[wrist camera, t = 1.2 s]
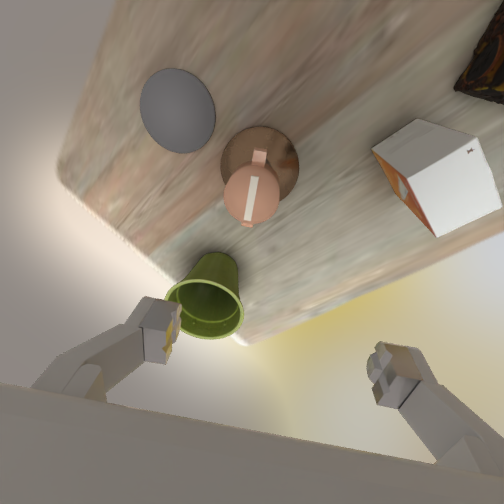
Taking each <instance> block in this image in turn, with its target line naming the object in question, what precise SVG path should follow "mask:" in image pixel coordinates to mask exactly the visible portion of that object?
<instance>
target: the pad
mask: <svg viewBox="0 0 504 504" xmlns="http://www.w3.org/2000/svg"><path fill="white" fill-rule="evenodd" d="M140 112H141V116H142V120H143V123H144V125H145V127H146V129H147V131H148V133H149V134H150V135H151V137H152V138H153V139H154V140H155V141H156V142H157V143H158V144H159V145H161V146H162V147H164V148H165V149H167V150H170V151H172V152H176V153H190V152H193V151H196V150H198V149H199V148H201V147H202V146H203V145H204V144H205V143H206V142H207V141H208V140H209V138H210V137H211V135H212V133H213V130H214V126H215V117H216V115H215V107H214V103H213V100H212V98H211V95H210V93H209V92H208V90H207V88H206V87H205V86H204V84H203V83H202V82H201V81H200V80H199V79H198V78H196V77H195V76H194V75H192V74H191V73H189V72H186V71H184V70H180V69H164V70H161V71H158V72H157V73H155V74H154V75H152V76H151V77H150V78H149V79H148V81H147V82H146V84H145V85H144V87H143V90H142V93H141V98H140Z"/></svg>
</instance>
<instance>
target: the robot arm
mask: <svg viewBox="0 0 504 504" xmlns="http://www.w3.org/2000/svg"><path fill="white" fill-rule="evenodd" d="M181 311H182V305H181V304H180V303H176V302H171V301H167V300H162V299H156V298H151V297H147V296H145V297H143V298H142V299H141V300H140V302H139V303H138V305H137V306H136V308H135V309H134V311H133V312H132V314H131V315H130V316H129V318H128V319H127V321H126V322H125V324H119V325H117V326H115V327H113V328H111V329H109V330H107V331H105V332H104V333H102V334H100V335H98V336H96V337H94V338H92V339H90V340H88V341H86V342H84V343H82V344H80V345H78V346H77V347H74V348H72V349H70V350H68V351H66V352H65V353H63V354H61V355H59V356H57V357H56V358H55V359H54V361H53V362H52V363H51V364H50V365H49V366H48V368H47V369H46V370H45V371H44V372H43V373H42V375H41V376H40V377H39V378H38V379H37V380H36V382H35V383H34V384H33V385H32V386H31V387H30V388H27V387H22V386H17V385H12V384H6V383H1V382H0V504H504V438H503V437H502V436H500V435H499V434H498V433H497V432H496V431H494V429H492V428H491V427H490V426H489V425H488V424H487V423H486V422H484V421H483V420H482V419H481V418H480V417H479V416H478V415H476V414H475V413H474V412H473V411H472V410H471V409H469V408H468V407H467V406H466V405H465V404H464V403H463V402H461V401H460V400H459V399H458V398H457V397H456V396H455V395H453V394H452V393H451V392H450V391H449V390H448V389H447V388H445V387H444V386H443V385H440V384H438V382H437V380H436V378H435V377H434V375H433V373H432V371H431V369H430V367H429V366H428V363H427V362H426V360H425V358H424V356H423V354H422V353H421V351H420V350H419V349H418V348H415V347H409V346H403V345H397V344H392V343H387V342H381V341H380V342H378V343H377V344H376V346H375V350H376V352H375V353H373V354H371V355H370V357H369V359H368V361H367V374H368V377H369V379H370V380H371V381H372V382H373V383H374V385H373V387H372V391H373V394H374V397H375V400H376V403H377V405H380V406H385V407H390V408H394V409H399V410H398V411H399V412H400V414H401V415H402V416H403V417H404V419H405V420H406V421H407V423H408V424H409V425H410V426H411V428H412V429H413V430H414V431H415V433H416V434H417V435H418V436H419V438H420V439H421V440H422V442H423V443H424V444H425V445H426V447H427V448H428V449H429V451H430V452H431V453H432V455H433V456H434V457H435V458H436V460H437V461H436V462H435V463H434V464H429V463H424V462H419V461H413V460H408V459H403V458H398V457H392V456H387V455H382V454H377V453H371V452H366V451H361V450H355V449H350V448H344V447H339V446H334V445H328V444H323V443H318V442H313V441H307V440H301V439H297V438H292V437H286V436H281V435H276V434H270V433H265V432H260V431H254V430H249V429H244V428H239V427H234V426H228V425H223V424H218V423H212V422H207V421H202V420H196V419H191V418H186V417H180V416H175V415H170V414H165V413H160V412H154V411H148V410H144V409H138V408H133V407H127V406H122V405H117V404H112V403H107V398H106V392H107V391H109V390H110V389H111V388H113V387H114V386H115V385H116V384H118V383H119V382H120V381H121V380H123V379H124V378H125V377H126V376H128V375H129V374H130V373H131V372H133V371H134V370H135V369H137V368H138V367H139V366H140V365H141V364H143V363H144V361H147V362H152V363H159V364H165V365H166V363H167V361H168V359H169V356H170V354H171V352H172V344H173V343H174V342H176V340H177V337H178V334H179V331H180V326H181V318H180V317H179V316H180V313H181Z"/></svg>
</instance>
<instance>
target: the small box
mask: <svg viewBox="0 0 504 504" xmlns="http://www.w3.org/2000/svg"><path fill="white" fill-rule="evenodd" d="M371 150H372V152H373V154H374V155H375V157H376V158H377V160H378V162H379V164H380V166H381V167H382V169H383V171H384V173H385V175H386V176H387V178H388V180H389V182H390V184H391V186H392V188H393V190H394V192H395V194H396V195H397V196H398V197H399V198H400V199H401V200H402V201H403V202H404V203H405V204H406V205H407V206H408V208H409V209H410V210H411V211H412V212H413V213H414V214H415V215H416V216H417V217H418V218H419V219H420V220H421V221H422V223H423V224H424V225H425V226H426V227H427V228H428V229H429V230H430V231H431V232H432V233H433V234H434V236H435V237H436V238H438V237H440V236H442V235H444V234H446V233H448V232H450V231H452V230H455V229H457V228H459V227H461V226H463V225H465V224H467V223H469V222H472V221H474V220H476V219H478V218H480V217H482V216H484V215H487V214H489V213H491V212H493V211H495V210H498V209H500V208H502V202H501V199H500V196H499V193H498V190H497V187H496V184H495V182H494V178H493V174H492V171H491V169H490V166H489V164H488V162H487V160H486V158H485V155H484V153H483V150H482V148H481V145H480V142H479V140H478V138H477V137H476V136H472V135H469V134H466V133H463V132H459V131H456V130H453V129H450V128H447V127H444V126H440V125H437V124H434V123H431V122H428V121H425V120H421V119H419V118H417V119H415V120H414V121H412V122H411V123H409V124H408V125H406V126H405V127H403V128H402V129H400V130H399V131H397V132H396V133H394V134H393V135H391V136H390V137H388V138H387V139H385V140H384V141H382V142H381V143H379V144H377V145H376V146H374V147H373V148H371Z"/></svg>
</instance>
